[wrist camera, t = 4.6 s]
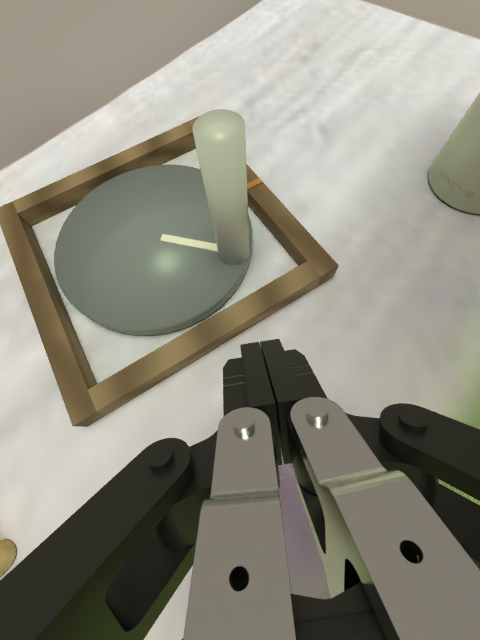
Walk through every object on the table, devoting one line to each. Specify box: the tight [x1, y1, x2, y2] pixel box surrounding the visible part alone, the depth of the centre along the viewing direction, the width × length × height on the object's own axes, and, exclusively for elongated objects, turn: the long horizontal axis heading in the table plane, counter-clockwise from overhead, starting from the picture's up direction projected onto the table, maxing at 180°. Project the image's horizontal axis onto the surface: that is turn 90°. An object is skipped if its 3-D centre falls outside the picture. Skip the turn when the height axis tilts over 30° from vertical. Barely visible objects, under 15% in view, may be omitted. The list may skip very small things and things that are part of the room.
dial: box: [54, 109, 252, 335], centre depth 23 cm, size 20×20×14 cm
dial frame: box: [0, 116, 338, 426], centre depth 29 cm, size 26×26×2 cm
